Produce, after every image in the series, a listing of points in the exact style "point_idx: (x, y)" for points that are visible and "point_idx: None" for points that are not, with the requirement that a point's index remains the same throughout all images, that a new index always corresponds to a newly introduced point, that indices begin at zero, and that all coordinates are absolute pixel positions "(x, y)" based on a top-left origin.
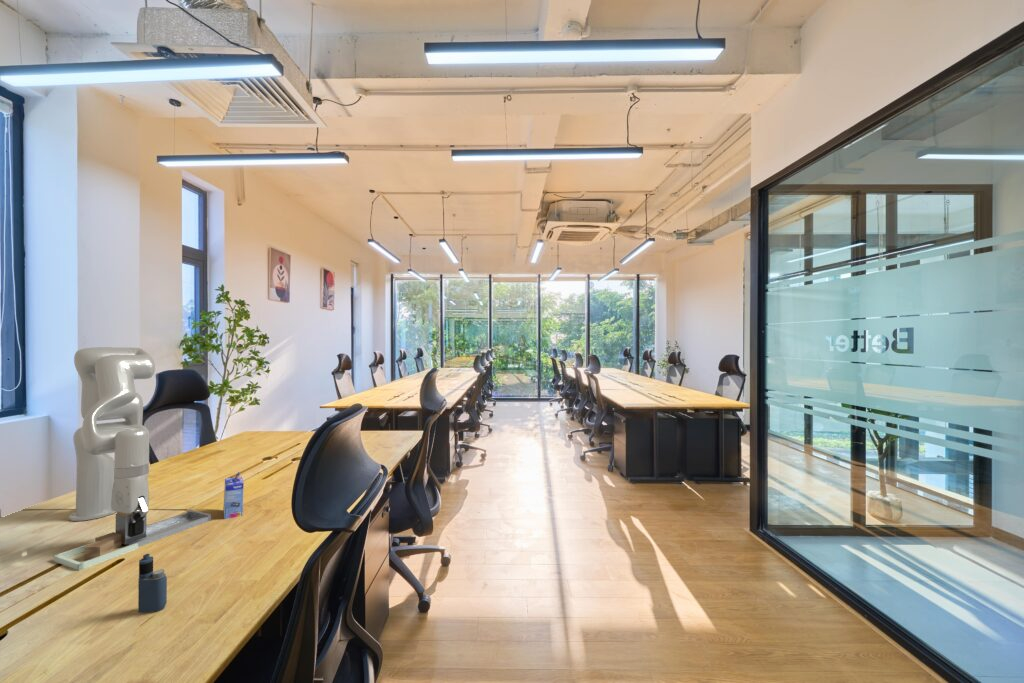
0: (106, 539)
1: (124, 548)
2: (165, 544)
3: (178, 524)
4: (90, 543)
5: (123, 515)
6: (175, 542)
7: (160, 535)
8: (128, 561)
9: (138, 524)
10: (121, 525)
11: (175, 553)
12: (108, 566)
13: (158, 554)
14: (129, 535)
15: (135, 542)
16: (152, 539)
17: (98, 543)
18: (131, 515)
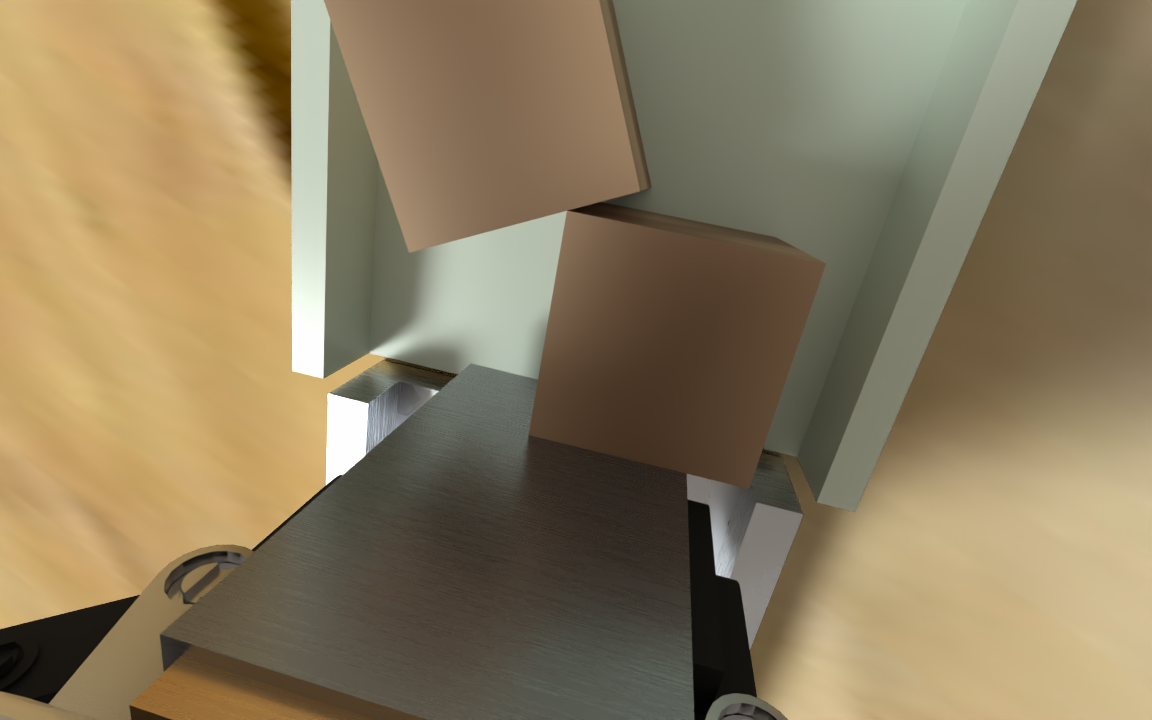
0: (559, 256)
1: (292, 241)
2: (287, 495)
3: None
4: (944, 280)
5: (293, 695)
6: (251, 532)
7: None
8: (217, 167)
9: None
10: (470, 511)
11: (33, 367)
12: (277, 27)
13: (132, 332)
14: None
15: (367, 398)
16: None
17: (506, 94)
18: (113, 697)
